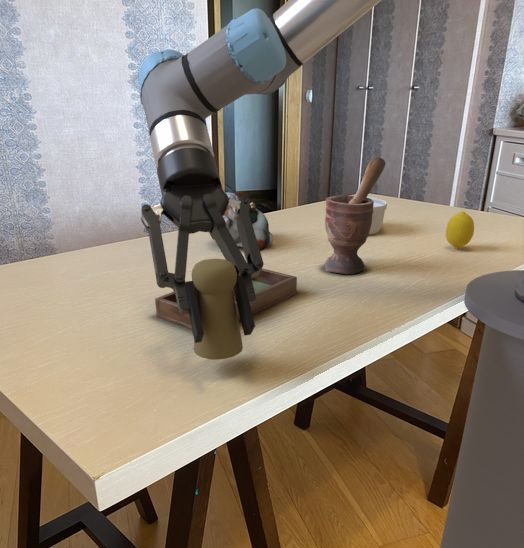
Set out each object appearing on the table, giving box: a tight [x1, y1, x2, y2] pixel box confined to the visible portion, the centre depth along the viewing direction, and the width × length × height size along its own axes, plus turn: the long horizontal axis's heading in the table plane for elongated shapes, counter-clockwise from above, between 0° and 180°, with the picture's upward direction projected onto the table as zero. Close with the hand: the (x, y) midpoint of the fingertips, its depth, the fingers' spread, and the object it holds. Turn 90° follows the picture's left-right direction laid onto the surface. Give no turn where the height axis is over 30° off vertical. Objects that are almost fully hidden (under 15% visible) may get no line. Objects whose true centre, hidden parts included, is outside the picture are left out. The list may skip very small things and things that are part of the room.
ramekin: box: [366, 196, 388, 236], centre depth 127 cm, size 13×13×7 cm
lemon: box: [445, 210, 475, 250], centre depth 112 cm, size 6×6×8 cm
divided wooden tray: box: [154, 267, 298, 330], centre depth 85 cm, size 11×21×3 cm, turn 142°
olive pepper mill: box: [191, 258, 244, 361], centre depth 62 cm, size 6×6×11 cm
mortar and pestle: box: [324, 156, 386, 275], centre depth 98 cm, size 12×9×20 cm
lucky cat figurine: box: [223, 191, 274, 250], centre depth 114 cm, size 15×12×14 cm
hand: (224, 334), depth 60 cm, fingers closed on olive pepper mill, 5 cm apart
